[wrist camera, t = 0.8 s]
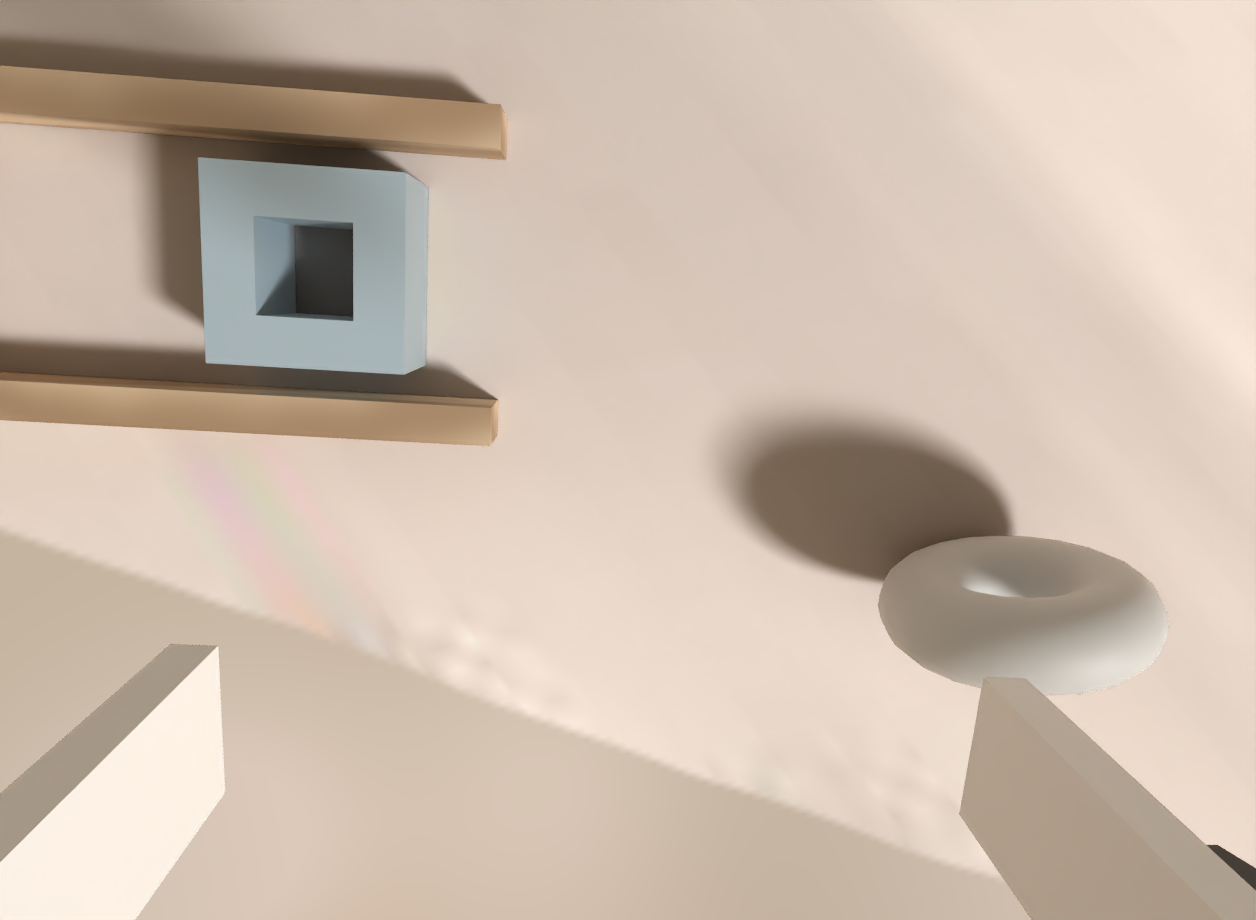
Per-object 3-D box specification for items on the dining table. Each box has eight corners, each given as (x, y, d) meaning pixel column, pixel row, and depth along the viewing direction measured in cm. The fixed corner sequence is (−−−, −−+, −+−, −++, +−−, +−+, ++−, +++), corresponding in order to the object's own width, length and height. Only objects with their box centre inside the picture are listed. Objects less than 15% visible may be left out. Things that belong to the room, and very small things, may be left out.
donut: (847, 614, 36) (942, 731, 27) (843, 540, 36) (940, 633, 26) (1065, 588, 37) (1239, 695, 27) (1066, 515, 36) (1244, 597, 26)
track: (-141, 69, 30) (-226, 43, 27) (507, 119, 32) (498, 99, 28) (-103, 402, 33) (-178, 414, 29) (497, 435, 34) (487, 449, 31)
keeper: (246, 174, 31) (197, 157, 28) (428, 187, 32) (405, 172, 28) (251, 355, 33) (205, 363, 29) (425, 365, 33) (403, 374, 29)
